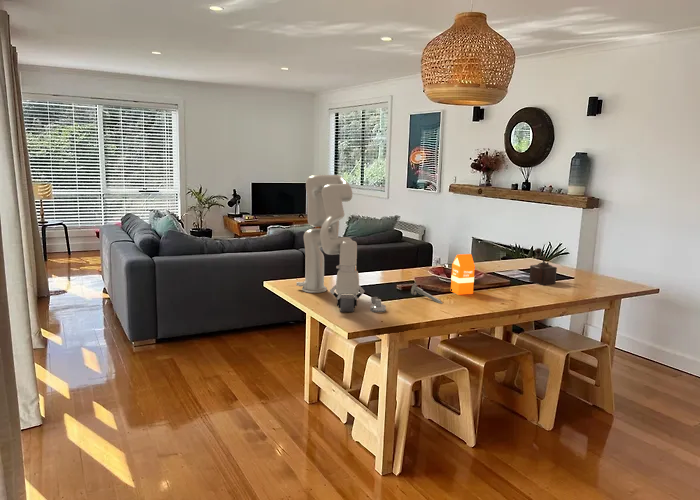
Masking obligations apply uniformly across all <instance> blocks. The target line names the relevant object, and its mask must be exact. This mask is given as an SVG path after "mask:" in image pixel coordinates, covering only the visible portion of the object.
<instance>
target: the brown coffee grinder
mask: <svg viewBox="0 0 700 500" xmlns="http://www.w3.org/2000/svg"><path fill="white" fill-rule="evenodd" d="M542 250H543V249H542V248H540V247H537V248H535V249H534V253H535V254H536V255H535V259H542V262H540V263H538V264H532V265H530V266H529V267H530V268H529V276H528V277H529V279H528V281H529V282H530V283H533V284H536V285H540V286H549V285H555V284H556V279H557V269H558V268H557V267H556V266H553V265H551V264H549V261H547V262H545V261H546V253H542V252H543V251H542ZM541 253H542V254H541Z"/></svg>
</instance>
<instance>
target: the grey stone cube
mask: <svg viewBox="0 0 700 500" xmlns="http://www.w3.org/2000/svg"><path fill="white" fill-rule="evenodd" d="M339 312H353V313H354V312H355V308H354V295H353V294H341V296H340V308H339Z"/></svg>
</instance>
